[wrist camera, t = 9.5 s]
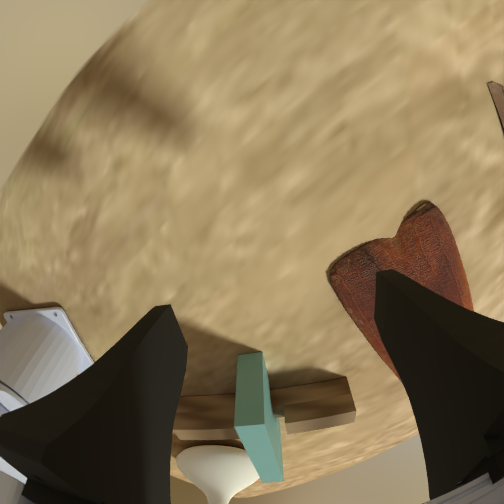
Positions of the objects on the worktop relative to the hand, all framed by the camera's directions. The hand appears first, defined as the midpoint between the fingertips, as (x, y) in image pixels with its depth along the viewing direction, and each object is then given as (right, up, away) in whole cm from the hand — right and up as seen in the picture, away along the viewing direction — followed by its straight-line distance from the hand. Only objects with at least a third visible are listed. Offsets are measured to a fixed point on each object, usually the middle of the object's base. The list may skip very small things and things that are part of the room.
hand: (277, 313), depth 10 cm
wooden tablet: (+16, -6, +14) cm, 22 cm away
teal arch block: (0, -11, +16) cm, 20 cm away
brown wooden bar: (0, -11, +16) cm, 20 cm away
